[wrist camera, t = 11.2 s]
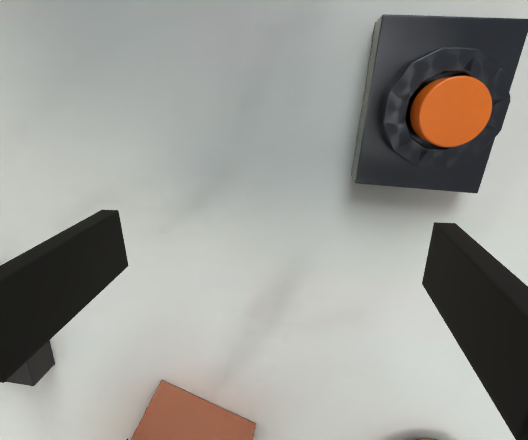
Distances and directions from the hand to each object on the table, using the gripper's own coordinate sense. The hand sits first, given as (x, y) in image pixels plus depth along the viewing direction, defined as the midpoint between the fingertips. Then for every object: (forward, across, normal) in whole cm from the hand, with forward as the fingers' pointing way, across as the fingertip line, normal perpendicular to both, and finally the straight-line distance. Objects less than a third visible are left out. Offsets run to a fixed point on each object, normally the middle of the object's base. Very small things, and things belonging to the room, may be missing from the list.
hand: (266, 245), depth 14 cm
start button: (+9, +9, +5) cm, 14 cm away
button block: (+12, +9, +5) cm, 16 cm away
